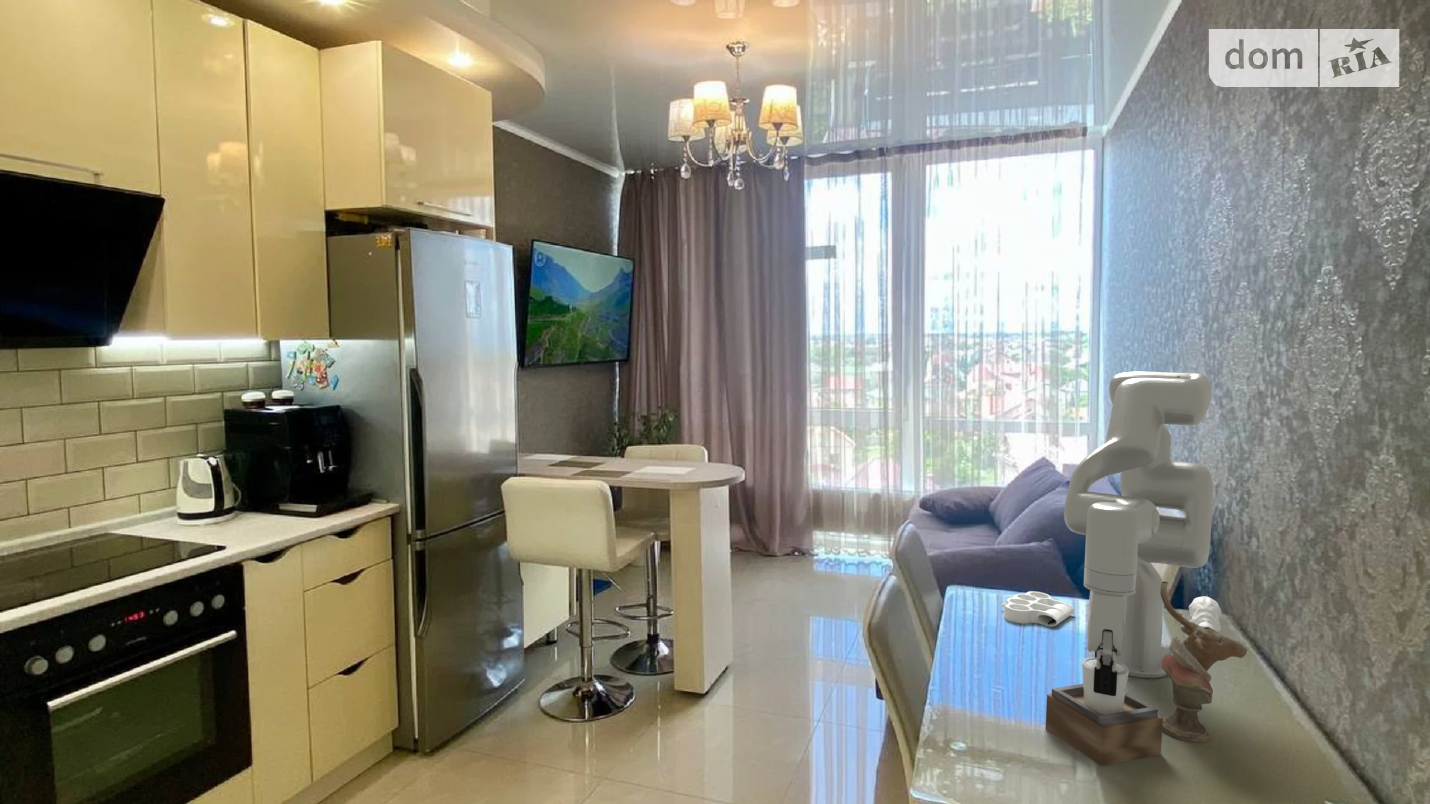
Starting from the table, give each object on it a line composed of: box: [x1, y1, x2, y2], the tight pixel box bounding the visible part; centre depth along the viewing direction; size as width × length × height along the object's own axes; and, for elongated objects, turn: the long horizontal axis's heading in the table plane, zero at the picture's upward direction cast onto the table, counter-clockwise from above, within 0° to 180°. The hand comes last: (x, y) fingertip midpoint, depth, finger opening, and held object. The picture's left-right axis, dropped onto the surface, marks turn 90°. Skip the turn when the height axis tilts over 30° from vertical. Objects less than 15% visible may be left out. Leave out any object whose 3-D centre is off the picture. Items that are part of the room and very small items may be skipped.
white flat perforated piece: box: [1000, 590, 1075, 627], centre depth 186 cm, size 3×18×15 cm
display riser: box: [1045, 683, 1164, 767], centre depth 126 cm, size 12×12×7 cm
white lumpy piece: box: [1188, 595, 1222, 633], centre depth 171 cm, size 6×8×12 cm
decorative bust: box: [1160, 581, 1248, 743], centre depth 129 cm, size 11×13×25 cm
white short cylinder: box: [1081, 657, 1129, 715], centre depth 125 cm, size 7×7×7 cm
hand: (1104, 681), depth 125 cm, fingers open, 9 cm apart
